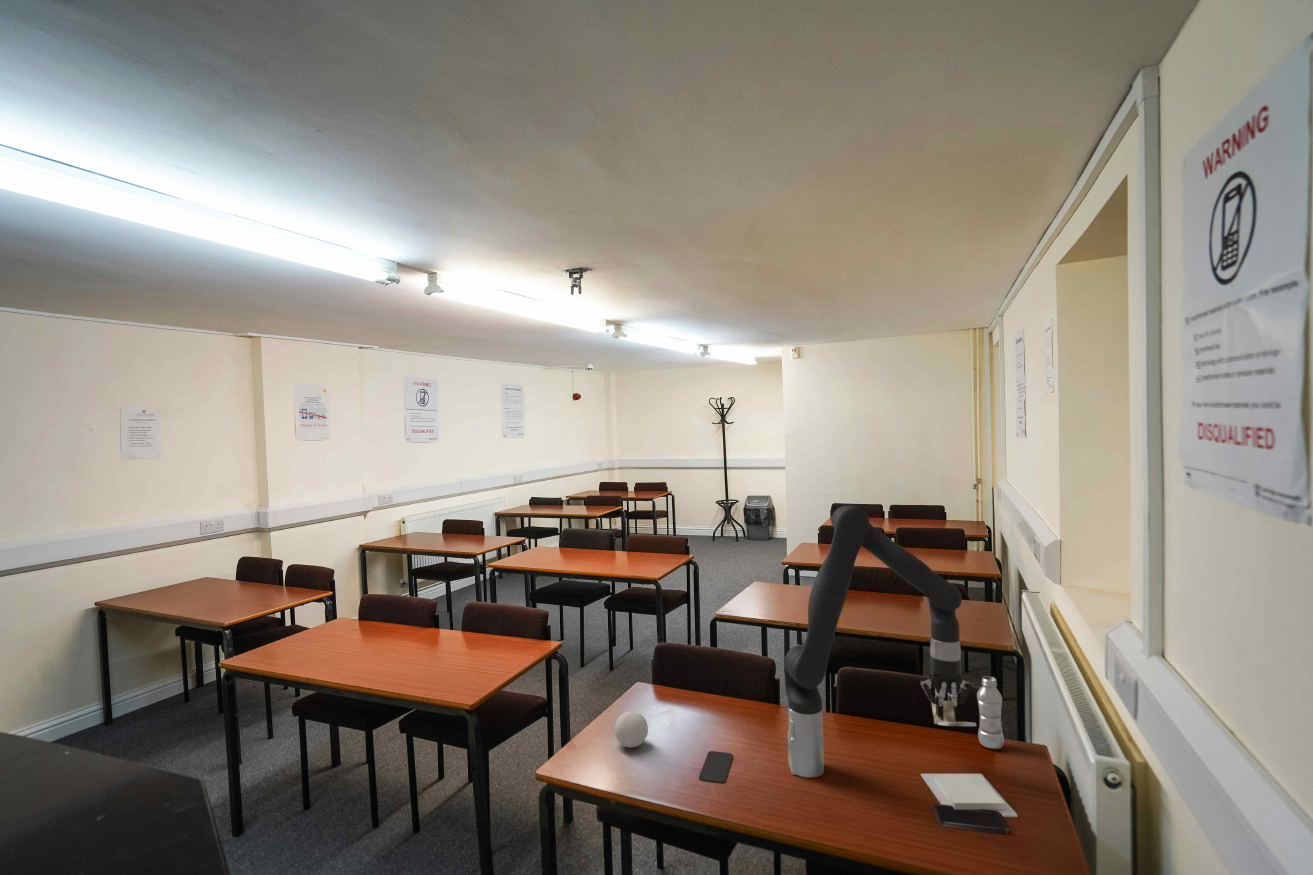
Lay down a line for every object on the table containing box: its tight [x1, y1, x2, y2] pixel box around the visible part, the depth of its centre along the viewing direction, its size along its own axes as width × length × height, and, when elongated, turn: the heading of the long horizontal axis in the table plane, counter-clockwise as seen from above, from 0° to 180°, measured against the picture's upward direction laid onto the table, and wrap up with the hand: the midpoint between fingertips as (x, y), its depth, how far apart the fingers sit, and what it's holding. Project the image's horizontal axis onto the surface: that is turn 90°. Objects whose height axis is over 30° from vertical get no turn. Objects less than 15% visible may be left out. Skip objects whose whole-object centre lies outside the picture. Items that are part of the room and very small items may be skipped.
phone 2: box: [933, 803, 1010, 835], centre depth 144 cm, size 8×1×15 cm
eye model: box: [614, 710, 649, 749], centre depth 183 cm, size 10×10×10 cm
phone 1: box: [698, 750, 734, 784], centre depth 170 cm, size 7×1×15 cm
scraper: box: [930, 700, 977, 727], centre depth 164 cm, size 7×16×6 cm, turn 177°
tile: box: [934, 775, 1005, 810], centre depth 153 cm, size 12×2×12 cm
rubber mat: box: [920, 773, 1019, 818], centre depth 154 cm, size 16×18×1 cm
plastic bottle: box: [976, 675, 1005, 750], centre depth 177 cm, size 6×7×20 cm
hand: (946, 718), depth 165 cm, fingers closed on scraper
